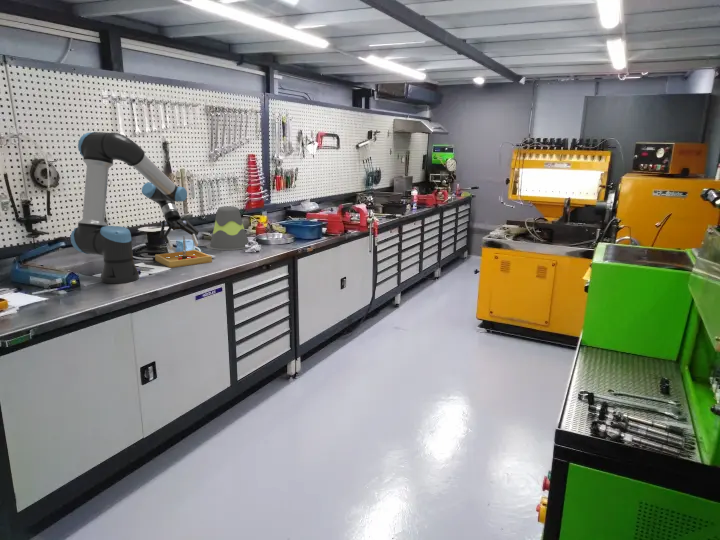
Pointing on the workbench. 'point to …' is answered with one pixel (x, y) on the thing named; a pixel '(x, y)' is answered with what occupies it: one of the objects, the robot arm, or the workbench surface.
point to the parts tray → (175, 262)
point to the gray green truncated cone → (228, 230)
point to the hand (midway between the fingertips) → (184, 246)
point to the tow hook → (185, 251)
